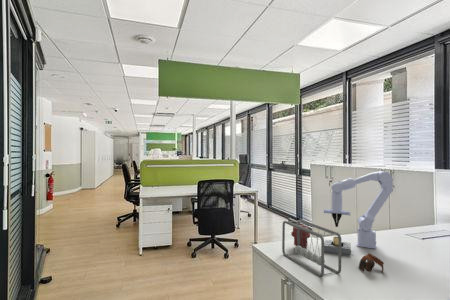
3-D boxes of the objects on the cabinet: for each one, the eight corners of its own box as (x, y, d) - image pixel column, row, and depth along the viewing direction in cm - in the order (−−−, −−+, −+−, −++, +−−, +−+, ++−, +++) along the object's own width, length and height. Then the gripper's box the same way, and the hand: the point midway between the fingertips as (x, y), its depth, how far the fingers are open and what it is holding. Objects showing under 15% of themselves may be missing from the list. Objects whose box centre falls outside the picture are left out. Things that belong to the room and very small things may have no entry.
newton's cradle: (281, 254, 144) (282, 219, 144) (298, 251, 148) (298, 218, 148) (322, 279, 116) (322, 236, 116) (341, 275, 120) (342, 233, 120)
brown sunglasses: (357, 265, 132) (366, 250, 132) (377, 279, 127) (387, 263, 127) (355, 267, 122) (365, 251, 122) (377, 282, 117) (387, 266, 117)
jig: (350, 249, 152) (350, 243, 152) (350, 256, 142) (350, 249, 142) (325, 245, 158) (325, 239, 158) (323, 252, 148) (323, 245, 148)
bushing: (341, 249, 151) (341, 236, 151) (341, 252, 147) (341, 239, 148) (333, 249, 153) (333, 236, 153) (333, 251, 149) (333, 238, 149)
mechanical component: (290, 244, 159) (308, 245, 158) (292, 250, 149) (311, 251, 148) (290, 222, 159) (308, 223, 158) (292, 227, 149) (311, 228, 148)
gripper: (323, 203, 163) (323, 226, 163) (350, 205, 157) (350, 229, 157) (324, 201, 170) (324, 223, 170) (350, 203, 164) (350, 226, 164)
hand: (336, 226), depth 164 cm, fingers closed
